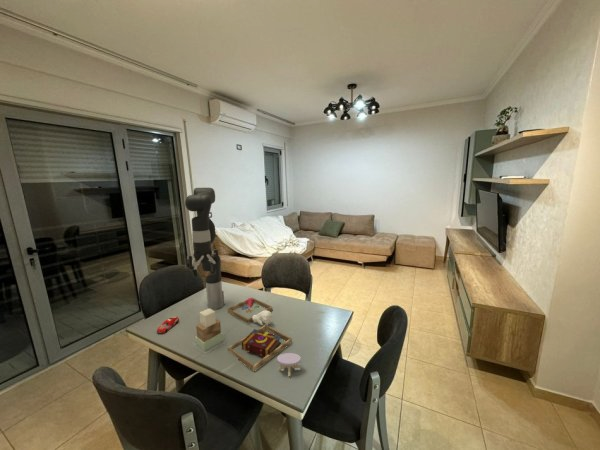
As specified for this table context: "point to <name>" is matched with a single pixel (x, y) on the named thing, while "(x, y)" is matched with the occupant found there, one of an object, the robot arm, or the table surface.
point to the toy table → (288, 361)
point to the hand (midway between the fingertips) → (204, 274)
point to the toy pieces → (249, 302)
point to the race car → (168, 325)
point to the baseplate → (211, 347)
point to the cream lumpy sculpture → (263, 317)
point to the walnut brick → (208, 331)
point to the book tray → (266, 358)
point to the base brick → (209, 342)
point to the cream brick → (207, 317)
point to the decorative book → (261, 343)
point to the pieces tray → (246, 320)
